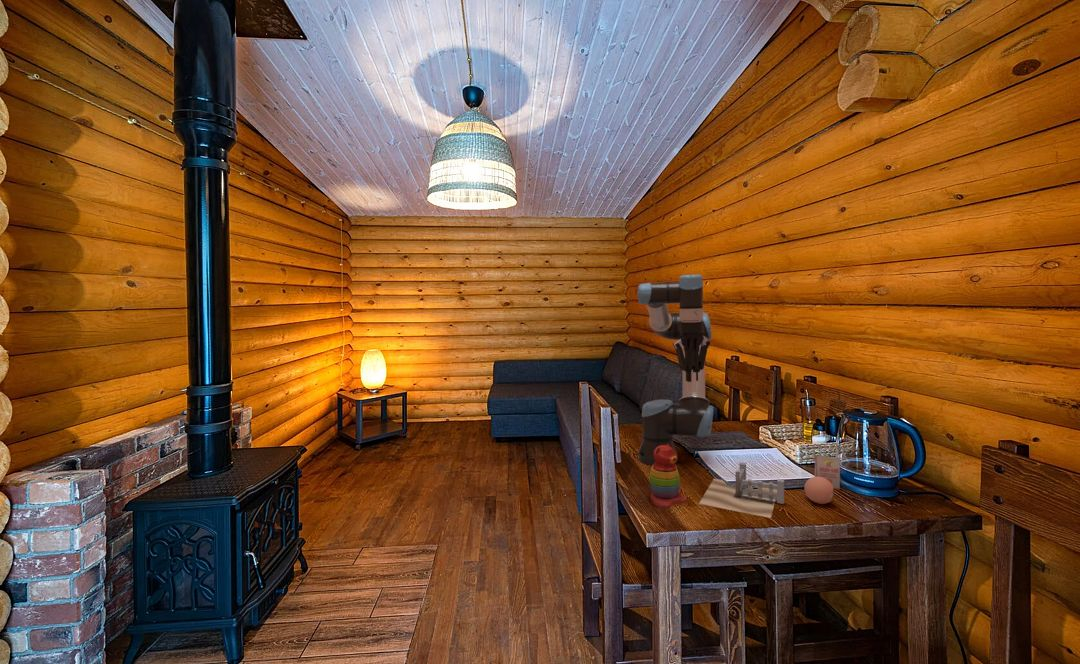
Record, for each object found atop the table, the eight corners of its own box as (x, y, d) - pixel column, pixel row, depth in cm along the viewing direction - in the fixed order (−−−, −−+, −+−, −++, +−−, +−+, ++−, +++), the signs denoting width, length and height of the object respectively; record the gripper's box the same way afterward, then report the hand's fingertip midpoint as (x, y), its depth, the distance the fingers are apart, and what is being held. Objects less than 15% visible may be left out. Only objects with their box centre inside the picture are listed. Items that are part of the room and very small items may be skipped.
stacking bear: (663, 511, 140) (663, 453, 139) (642, 498, 149) (640, 444, 148) (690, 502, 145) (689, 447, 144) (667, 491, 154) (666, 438, 153)
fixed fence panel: (740, 483, 157) (740, 459, 157) (746, 483, 156) (746, 460, 156) (734, 496, 147) (734, 472, 146) (740, 497, 146) (740, 473, 145)
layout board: (713, 480, 162) (713, 478, 162) (778, 491, 151) (778, 489, 151) (698, 505, 143) (698, 503, 143) (770, 519, 133) (770, 517, 133)
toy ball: (840, 506, 139) (841, 481, 138) (818, 510, 138) (818, 484, 137) (819, 495, 147) (819, 471, 146) (798, 498, 145) (798, 474, 145)
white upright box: (814, 482, 157) (814, 453, 156) (838, 485, 154) (838, 456, 153) (815, 486, 154) (815, 457, 153) (839, 489, 151) (840, 459, 150)
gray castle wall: (742, 497, 145) (742, 476, 145) (743, 495, 147) (742, 474, 146) (783, 504, 140) (784, 482, 139) (784, 501, 142) (784, 479, 141)
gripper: (679, 322, 150) (680, 394, 152) (715, 320, 153) (715, 391, 155) (667, 321, 157) (669, 390, 159) (702, 319, 160) (703, 387, 162)
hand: (692, 390), depth 157 cm, fingers closed
